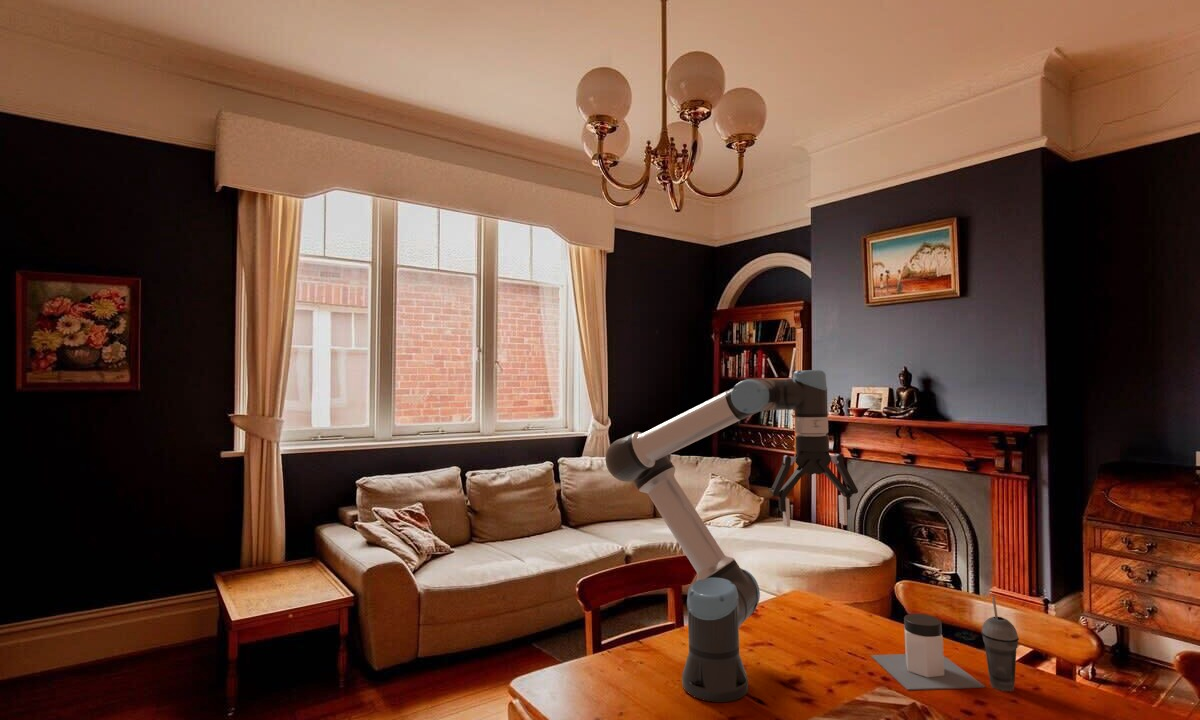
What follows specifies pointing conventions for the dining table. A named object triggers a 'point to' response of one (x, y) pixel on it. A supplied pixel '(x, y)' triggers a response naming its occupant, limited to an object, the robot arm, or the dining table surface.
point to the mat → (912, 681)
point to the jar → (924, 645)
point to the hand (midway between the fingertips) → (815, 524)
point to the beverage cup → (1000, 651)
